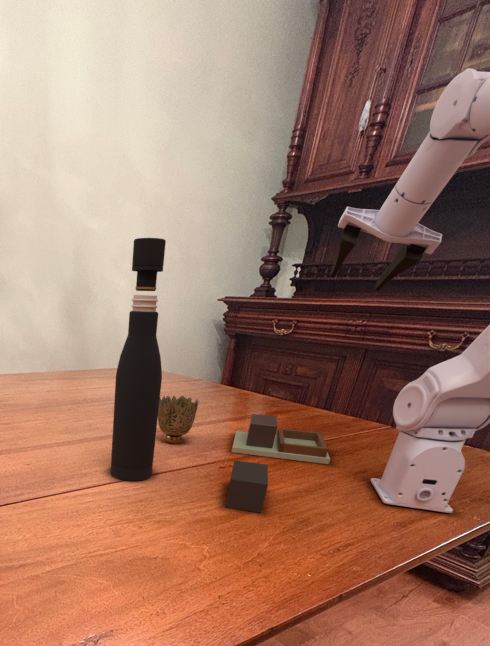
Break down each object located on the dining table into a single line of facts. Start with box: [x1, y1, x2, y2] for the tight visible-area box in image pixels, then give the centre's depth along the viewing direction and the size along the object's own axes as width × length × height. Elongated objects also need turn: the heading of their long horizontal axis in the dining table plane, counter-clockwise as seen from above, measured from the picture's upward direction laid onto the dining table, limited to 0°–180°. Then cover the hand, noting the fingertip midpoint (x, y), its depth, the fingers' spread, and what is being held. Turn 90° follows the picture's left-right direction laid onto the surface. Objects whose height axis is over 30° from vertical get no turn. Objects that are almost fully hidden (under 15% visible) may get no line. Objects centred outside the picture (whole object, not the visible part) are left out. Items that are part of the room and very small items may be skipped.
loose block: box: [224, 460, 269, 514], centre depth 58 cm, size 8×4×4 cm, turn 160°
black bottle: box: [110, 237, 167, 482], centre depth 59 cm, size 6×6×30 cm
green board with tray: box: [231, 413, 331, 465], centre depth 78 cm, size 12×16×5 cm
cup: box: [157, 395, 200, 445], centre depth 80 cm, size 8×7×8 cm
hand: (354, 280), depth 73 cm, fingers open, 7 cm apart
